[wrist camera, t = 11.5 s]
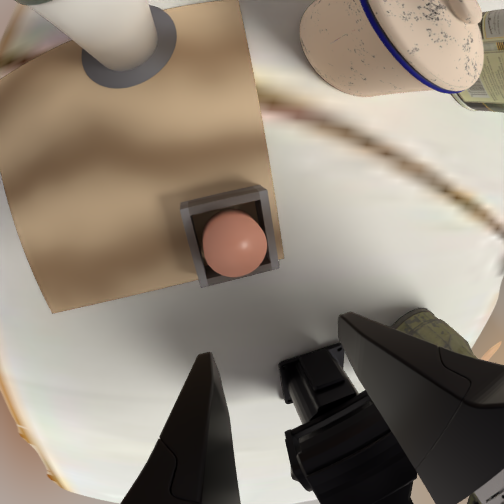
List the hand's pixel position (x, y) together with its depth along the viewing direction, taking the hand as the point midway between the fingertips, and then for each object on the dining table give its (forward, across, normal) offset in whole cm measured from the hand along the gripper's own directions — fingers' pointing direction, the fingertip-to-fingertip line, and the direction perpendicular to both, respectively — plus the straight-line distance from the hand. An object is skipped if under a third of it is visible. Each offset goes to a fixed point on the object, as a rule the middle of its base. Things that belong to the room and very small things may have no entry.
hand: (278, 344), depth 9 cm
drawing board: (+12, +6, -6) cm, 15 cm away
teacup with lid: (+12, -12, -13) cm, 22 cm away
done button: (+10, 0, 0) cm, 10 cm away
